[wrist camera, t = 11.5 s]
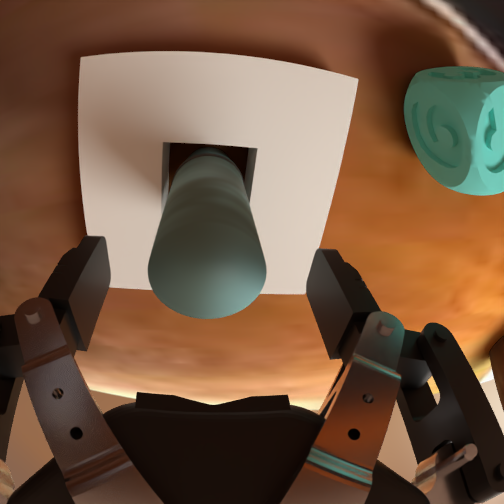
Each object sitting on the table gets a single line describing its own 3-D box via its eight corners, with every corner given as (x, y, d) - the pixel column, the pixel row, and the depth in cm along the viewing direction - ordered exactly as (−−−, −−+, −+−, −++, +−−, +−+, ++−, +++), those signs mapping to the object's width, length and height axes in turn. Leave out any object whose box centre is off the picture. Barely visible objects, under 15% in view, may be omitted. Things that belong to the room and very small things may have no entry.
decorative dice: (471, 145, 21) (532, 178, 14) (411, 167, 22) (473, 209, 15) (460, 63, 17) (530, 78, 10) (392, 75, 18) (466, 88, 11)
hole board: (336, 77, 17) (358, 79, 15) (294, 267, 26) (304, 294, 23) (101, 58, 15) (80, 57, 12) (108, 259, 23) (97, 286, 20)
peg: (242, 143, 20) (277, 225, 10) (235, 200, 22) (258, 320, 12) (179, 139, 19) (142, 218, 9) (176, 196, 21) (151, 317, 11)
